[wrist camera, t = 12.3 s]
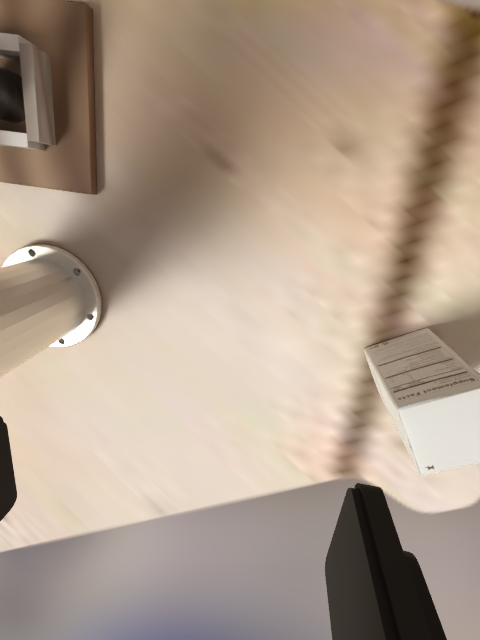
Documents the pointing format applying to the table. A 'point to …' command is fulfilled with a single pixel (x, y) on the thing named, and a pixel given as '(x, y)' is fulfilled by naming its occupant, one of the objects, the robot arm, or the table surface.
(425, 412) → the supplement box
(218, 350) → the table surface
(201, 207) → the table surface
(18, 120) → the gold topped cylinder
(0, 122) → the docking plate
